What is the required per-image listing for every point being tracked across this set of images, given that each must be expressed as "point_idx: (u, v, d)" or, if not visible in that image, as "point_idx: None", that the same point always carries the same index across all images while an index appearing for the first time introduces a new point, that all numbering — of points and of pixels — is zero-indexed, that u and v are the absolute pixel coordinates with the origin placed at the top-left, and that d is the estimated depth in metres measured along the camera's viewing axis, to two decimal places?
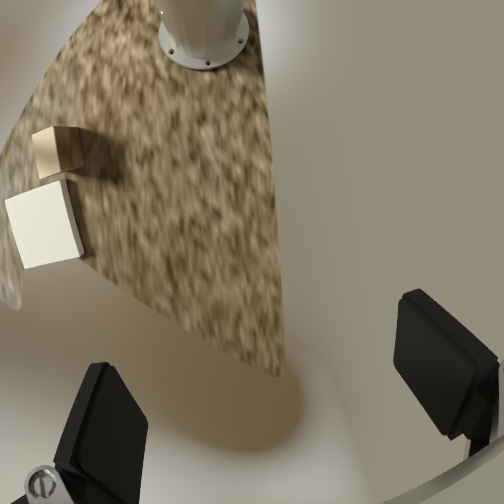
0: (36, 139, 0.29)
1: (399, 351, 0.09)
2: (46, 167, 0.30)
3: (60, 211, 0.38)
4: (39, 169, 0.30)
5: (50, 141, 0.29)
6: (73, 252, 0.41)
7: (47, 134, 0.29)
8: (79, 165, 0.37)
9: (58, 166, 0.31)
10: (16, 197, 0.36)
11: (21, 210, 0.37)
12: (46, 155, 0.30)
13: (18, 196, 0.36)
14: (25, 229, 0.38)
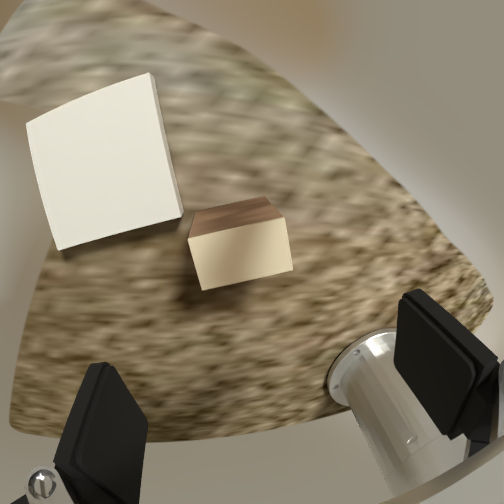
0: (273, 229, 0.19)
1: (399, 351, 0.09)
2: (211, 258, 0.19)
3: (125, 217, 0.23)
4: (208, 240, 0.18)
5: (263, 266, 0.19)
6: (62, 239, 0.23)
7: (279, 258, 0.19)
8: None
9: (212, 284, 0.20)
10: (152, 106, 0.20)
11: (125, 119, 0.20)
12: (236, 258, 0.19)
13: (153, 111, 0.21)
14: (90, 128, 0.20)
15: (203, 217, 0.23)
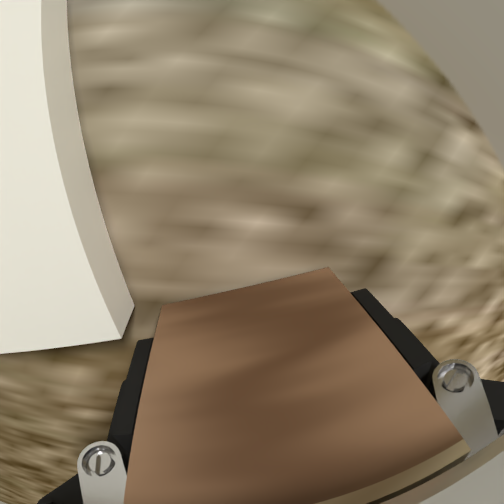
0: None
1: None
2: None
3: (6, 325, 0.08)
4: None
5: None
6: None
7: None
8: None
9: None
10: (34, 42, 0.05)
11: None
12: None
13: (35, 55, 0.05)
14: None
15: (175, 354, 0.08)
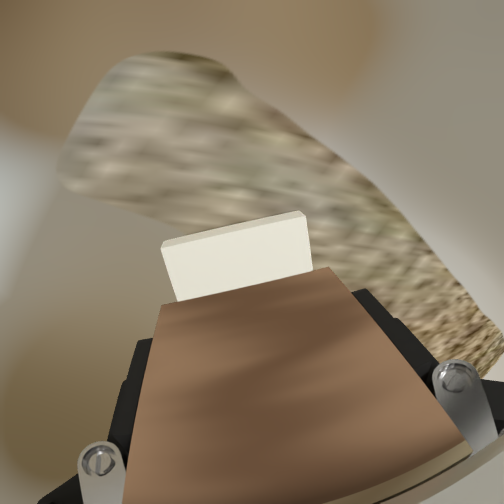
0: None
1: None
2: None
3: None
4: None
5: None
6: None
7: None
8: None
9: None
10: (307, 248, 0.26)
11: (281, 258, 0.26)
12: None
13: (308, 253, 0.26)
14: (244, 264, 0.25)
15: (175, 354, 0.08)
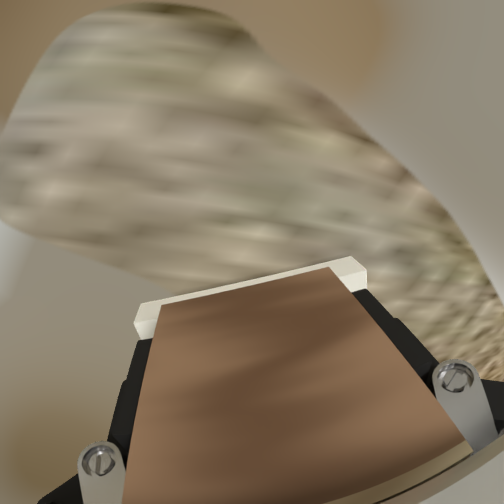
0: None
1: None
2: None
3: None
4: None
5: None
6: None
7: None
8: None
9: None
10: None
11: None
12: None
13: None
14: None
15: (174, 354, 0.08)
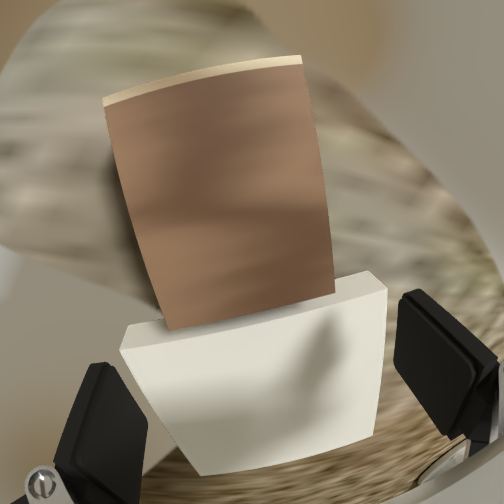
0: None
1: (399, 351, 0.09)
2: None
3: (308, 448, 0.16)
4: None
5: None
6: (209, 469, 0.16)
7: None
8: (158, 284, 0.10)
9: (127, 94, 0.08)
10: (380, 339, 0.13)
11: (337, 359, 0.13)
12: None
13: (380, 346, 0.14)
14: (273, 372, 0.13)
15: None
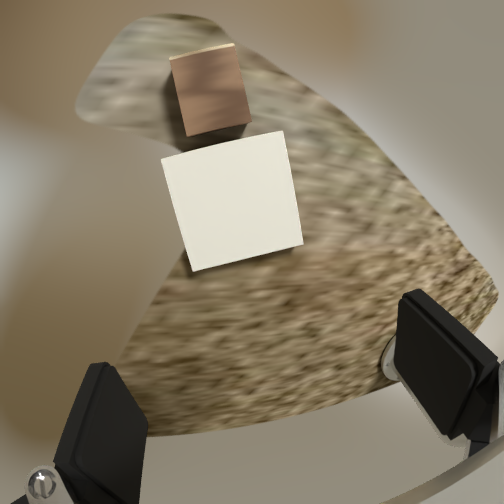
0: None
1: (399, 351, 0.09)
2: None
3: (260, 244, 0.32)
4: None
5: None
6: (198, 262, 0.31)
7: None
8: (184, 117, 0.25)
9: (177, 56, 0.23)
10: (285, 159, 0.29)
11: (264, 167, 0.29)
12: None
13: (287, 163, 0.29)
14: (232, 171, 0.29)
15: None
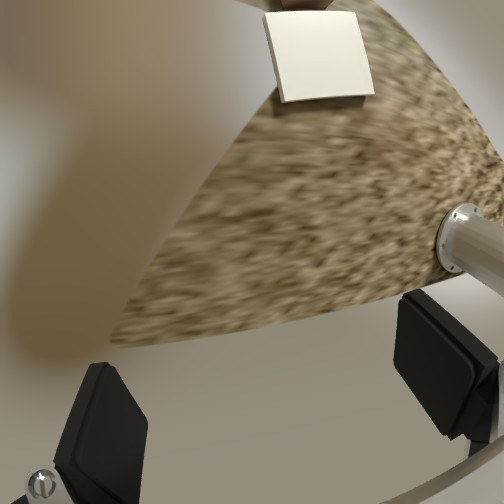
0: None
1: (399, 352, 0.09)
2: None
3: (341, 86, 0.32)
4: None
5: None
6: (290, 93, 0.32)
7: None
8: None
9: None
10: (358, 30, 0.29)
11: (343, 32, 0.29)
12: None
13: (359, 33, 0.29)
14: (320, 29, 0.29)
15: None
